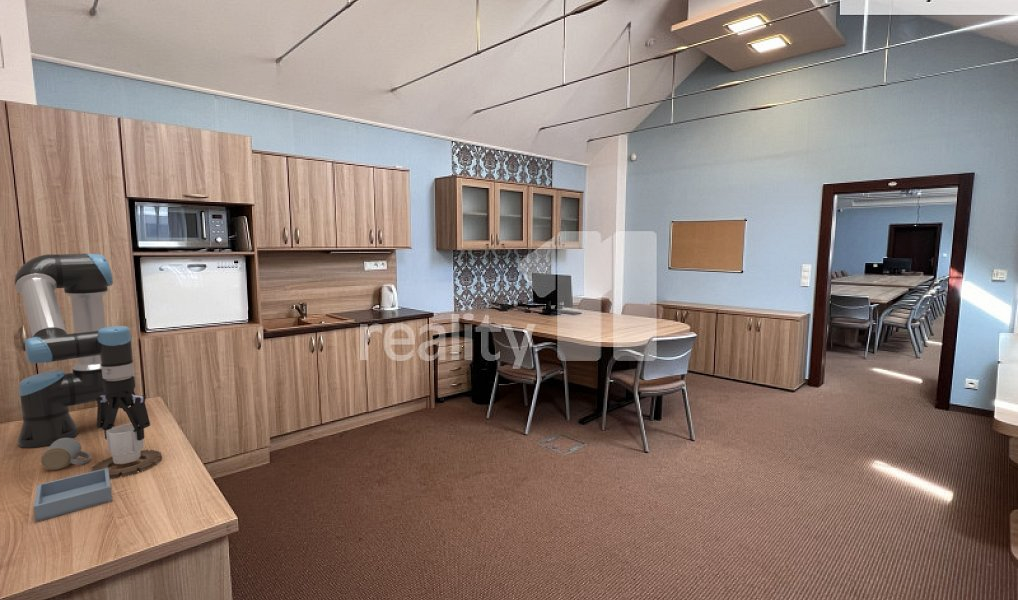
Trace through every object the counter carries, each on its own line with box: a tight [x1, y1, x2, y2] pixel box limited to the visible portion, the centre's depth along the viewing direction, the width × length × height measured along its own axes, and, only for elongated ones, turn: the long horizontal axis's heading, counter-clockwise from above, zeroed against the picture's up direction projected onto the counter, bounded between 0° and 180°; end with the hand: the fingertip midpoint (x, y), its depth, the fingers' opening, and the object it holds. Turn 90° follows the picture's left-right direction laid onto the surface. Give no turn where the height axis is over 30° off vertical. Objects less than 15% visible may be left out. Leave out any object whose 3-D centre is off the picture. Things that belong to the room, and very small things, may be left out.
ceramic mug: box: [40, 438, 91, 471], centre depth 149 cm, size 11×8×8 cm
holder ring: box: [90, 449, 163, 480], centre depth 148 cm, size 17×17×1 cm
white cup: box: [107, 423, 142, 465], centre depth 148 cm, size 8×8×10 cm
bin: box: [33, 468, 113, 523], centre depth 128 cm, size 15×15×4 cm
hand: (126, 449), depth 148 cm, fingers closed on white cup, 8 cm apart
